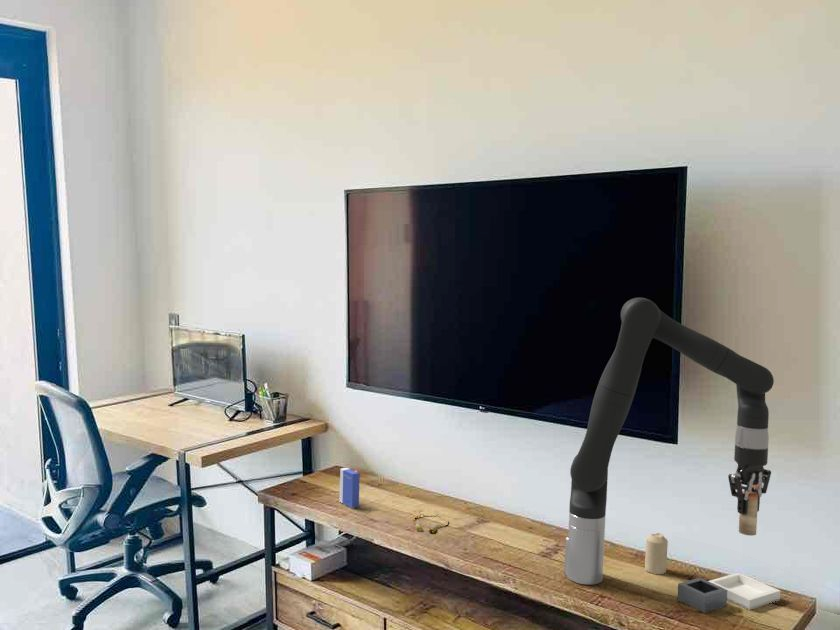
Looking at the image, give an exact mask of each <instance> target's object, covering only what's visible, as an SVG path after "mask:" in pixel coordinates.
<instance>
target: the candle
mask: <svg viewBox="0 0 840 630" xmlns="http://www.w3.org/2000/svg"><path fill="white" fill-rule="evenodd" d="M645 539H646V540H645V556H644V557H645V560H644V562H645V563H644V568H645V569H646V570H647V571H648V572H647V571H646V570H645V569H644V570H645V571H646V572H647V573H649V572H650V574H652V573H653V574H652V575H664V573H665V574H666V573H667V562H668V561H667V560H668V545H669V543H668V542H669V541H668V539H667V538H666V537H665V536H664V535H663V533H661V532H660V533H659V532H656V533H654V534H653V533H652V534H649V535H648V536H647V537H646V538H645Z"/></svg>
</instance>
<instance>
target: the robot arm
mask: <svg viewBox="0 0 840 630" xmlns="http://www.w3.org/2000/svg"><path fill="white" fill-rule="evenodd" d="M620 321H621V325H620V330H619V333H618V338H617V342H616V344H615V345H616V346H615V349H614V351H613V353H612V355H611V356H610V359H609V360H608V362H607V364H606V366H605V368H604V370H603V371H602V373H601V376H600V379H599V381H598V384H597V387H596V390H595V393H594V395H593V396H594V397H593V399H592V404H591V408H590V413H589V417H588V423H587V428H586V433H585V435H584V437H583V441H582V443H581V445H580V448H579V451H578V452H577V454H576V456H575V457H574V458H573V461H572V462H571V465H570V478H571V482H570V483H571V487H570V497H569V511H568V512H569V515H568V516H569V517H568V537H566V538H565V546H564V564H563V565H564V567H563V569H564V570H563V573H564V574H565V575H566V577H567V579H568V580H570V581H571V582H574V583H577V584H580V585H588V586H589V585H597V584H600V583H602V582H603V577H604V576H603V575H604V573H603V572H604V558H605V557H604V556H605V537H606V536H605V535H606V533H605V532H606V515H607V514H606V511H607V502H608V501H607V499H608V498H607V497H608V495H607V494H608V479H609V464H610V460H611V455H612V452H613V448H614V445H615V443H616V440H617V438H618V436H619V434H620V433H621V432H620V431H622V428H623V426H624V423H625V422H626V419H627V416H628V414H629V411H630V410H631V405H632V403H633V400H634V397H635V394H636V390H637V387H638V383H639V381H640V380H639V379H640V376H641V372H642V368H643V367H642V366H643V365H644V364H643V363H644V360H645V357H646V353H647V351H648V349H649V347H650V344H651V343H652V342H651V341H653V339H654V340H658V341H659V342H660V341H661V342H662V343H664V344H666V345H668V346H669V347H670V348H672V349H675V350H676V351H678V352H679V353H681V354H683V355H684V356H685V357H687V358H688V359H690V360H691V361H693V362H695V363H696V364H698V365H700V366H701V367H703V368H706V369H707V370H709V371H710V372H712V373H715V374H716V375H719V376H721V377H723V378H726V379H728V380H729V381H731V382H732V383H734V384H735V385H736V394H737V395H736V398H737V406H738V407H737V419H736V429H735V434H734V435H735V437H734V438H735V439H734V457H733V459H734V462H736V464H737V468H736V472H735V473H733V474H732V473H729V474H728V475H727V476H728V477H727V478H728V483H729V488H730V493H731V497H735V498H737V505H736V506H737V507H736V508H737V509H736V510H737V513H739V514H743V515H745V514H747V507H748V500H747V498H748V494H749V491H751V492H755V493H757V494H758V508H757V513H758V512H760V505H761V504H760V503H761V501H760V500H761V497H762V496H763V494H764V495H765V494H767V491H768V487H769V483H770V478H771V475H772V471H771V470H770V469H766V468H764V466H767V465H768V460H769V459H768V458H769V457H768V456H769V440H770V439H769V436H770V435H769V417H770V416H769V414H770V413H769V407H768V405H767V403H766V393H768V392H769V391H771V389H772V388H773V386H774V382H775V381H774V376H773V374H772V372H771V371H770V370H769V369H768V368H767V367H765V366H763V365H761V364H759V363H758V362H755V361H753V360H750V359H748V358H747V357H744V356H743V355H740V354H738V353H737V352H735V351H734V350H733V349H731V348H729V347H728V346H726V345H724V344H722V343H719V342H718V341H717V340H715V339H713V338H710V337H709V336H707V335H705V334H702V333H700V332H698V331H696V330H694V329H692V328H690V327H687V326H685V325H684V324H682V323H680V322H678V321H677V320H675V319H673V318H672V317H670V316H669V315H667V314H666V313H665V312H663V311H662V310H661V309H660V308H659V307H658V305H657V304H656V303H655V302H654V301H652V300H651V299H648V298H645V297H634V298H631V299H629V300H627V301H626V302H625V303H624V304H623V306H622V307H621V309H620ZM742 491H744V494H743V492H742Z"/></svg>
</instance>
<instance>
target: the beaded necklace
mask: <svg viewBox="0 0 840 630" xmlns="http://www.w3.org/2000/svg"><path fill="white" fill-rule="evenodd" d="M424 514H425V513H424ZM424 514H419V515H417V516H415V517H414V518H413V519H414V521H415V523H416V524H415V523H414V525H415V530H416V531H417V532H424V529H423V527H422V526H421V524H420V523H417V521H416V519H415V518H416V517H417V518H418V516H419V517H421V515H423V516H425V515H424ZM436 514H437V513H436ZM438 515H439V514H437V515H436V516H438ZM439 526H440V525H438V526H437V525H431V526H430V527H431V528H429V530H428V532H429V534H432V533H436V531H437V529H439V528H438V527H439ZM431 531H433V532H431ZM430 532H431V533H430Z"/></svg>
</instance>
